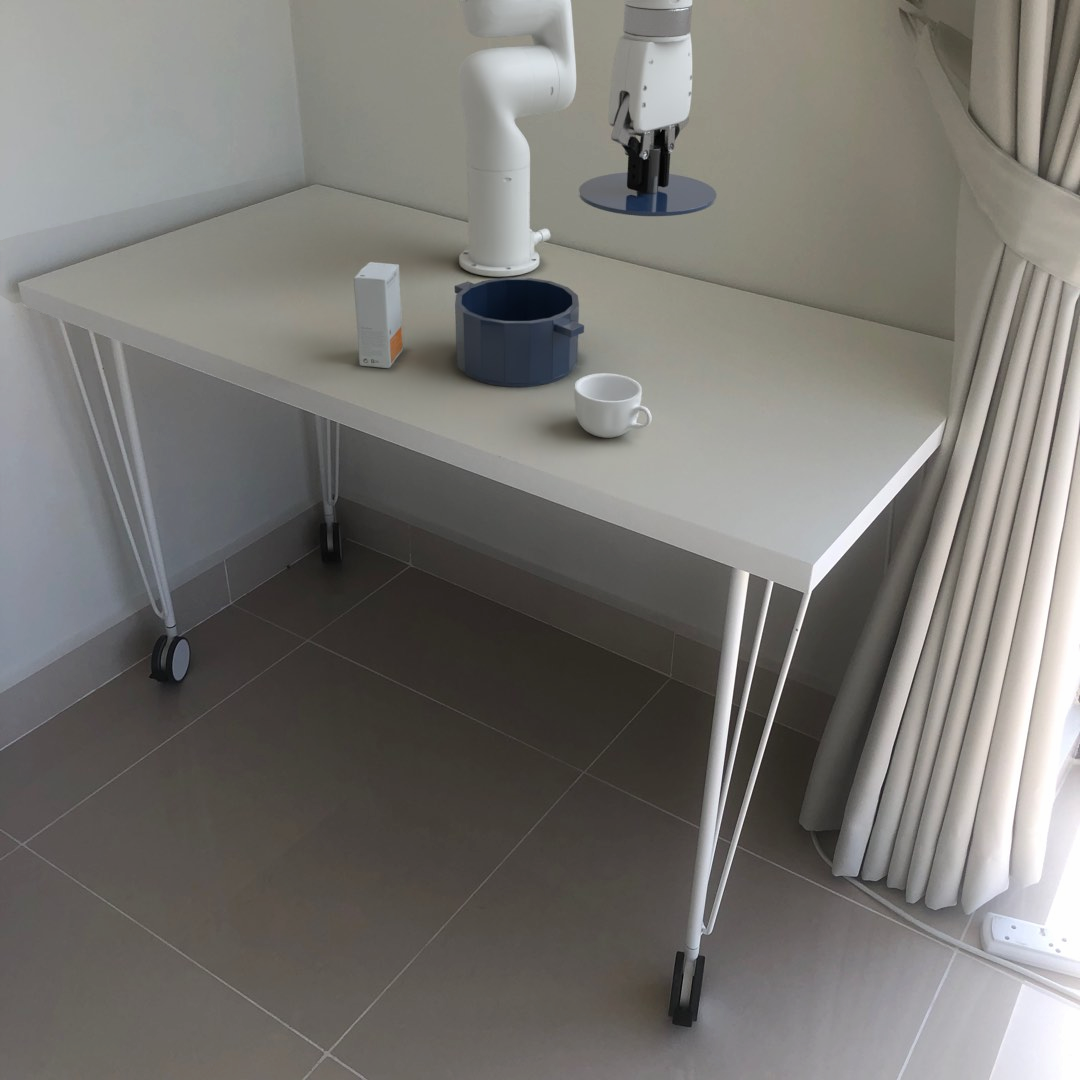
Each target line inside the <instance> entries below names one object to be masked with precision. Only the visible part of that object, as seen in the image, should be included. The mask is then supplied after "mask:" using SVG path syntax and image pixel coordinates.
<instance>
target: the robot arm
mask: <svg viewBox="0 0 1080 1080" xmlns="http://www.w3.org/2000/svg"><path fill="white" fill-rule="evenodd" d="M458 1H459V8H460V13H461V18H462V22H463V25H464V28H465V29H466V31H467V32H468V33H470V35H472V36H474V37H478V38H483V39H485V38H486V39H488V38H489V39H491V38H508V37H521V36H530V37H531V39H532V42H533V44H530V45H520V46H519V45H513V46H502V47H493V48H492V47H491V48H485V49H481V50H477V51H475V52H473V53H471V54H469V55H468V56H466V57H465V58H464V60H463V61H462V62H461V64H460V66H459V69H458V73H457V87H458V95H459V100H460V104H461V109H462V114H463V122H464V131H465V132H464V133H465V134H464V135H465V145H466V147H465V149H466V150H465V153H466V179H467V181H466V182H467V183H466V184H467V185H466V186H467V221H468V223H467V224H468V226H467V227H468V228H467V230H468V248H467V249H466V248H465V250H463V251H462V252H461V253H460V254H459V256H458V260H459V261H458V264H459V266H460V267H461V268H462V269H463V270H465V271H467V272H468V273H471V274H475V275H477V276H478V275H479V276H482V277H483V276H484V277H495V278H496V277H497V278H506V277H515V276H521V275H525V274H528V273H530V272H532V271H534V270H536V269H537V268H538V267H539V265H540V263H541V262H540V255H539V253H538V252H537V251H536V250H535V247H537V245H538V244H542V243H544V242H547V241H549V240H550V239H551V232H550V230H549V229H548V228H545V227H544V228H541V229H538V230H536V231H533V230H532V228H531V150H530V146H529V142H528V141H527V138H526V137H525V135H524V133H522V131H521V130H520V129H519V127H518V126H517V124H516V121H515V120H517V119H518V118H522V117H528V116H529V117H530V116H536V115H547V114H553V113H559V112H561V111H564V110H566V109H567V108H568V107H569V106H571V104H572V103H573V101H574V98H575V95H576V91H577V64H576V63H577V62H576V50H575V36H574V23H573V22H574V21H573V10H572V9H573V8H572V0H458ZM692 13H693V0H624V7H623V29H622V36H619V37H618V41H617V44H616V48H615V53H614V58H613V63H612V70H611V79H610V85H609V86H610V87H609V99H608V117H607V118H608V124H609V126H611V127H613V128H612V131H611V134H610V139H611V140H612V141H613V142H615V143H618V144H620V145H621V146H622V148H623V149H624V155H625V156H627V158H628V159H627V172H628V173H627V172H626V173H627V187H628V189H631V190H635V191H639V192H642V193H648V192H649V191H650V186H651V169H652V159H651V158H648V156H649V148H650V144H653V145H658V146H660V147H661V155H660V171H659V186H660V187H667V186H668V183H669V174H670V166H671V165H670V164H671V153H672V152H673V151H674V150H675V145H676V144H675V143H676V139H677V138H678V136H679V134H680V132H681V131H682V130H683V129H684V128H685V127H686V126H687V125H688V124H689V121H690V116H689V115H690V111H691V104H692V91H693V46H692V36H691V25H692ZM638 136H639V137H640V138H639V139H640V140H639V139H638V138H637V137H638Z"/></svg>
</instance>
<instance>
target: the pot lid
mask: <svg viewBox="0 0 1080 1080" xmlns="http://www.w3.org/2000/svg"><path fill="white" fill-rule="evenodd" d="M660 155H661V147H660V146H658V145H653V144H651V143H650V148H649V156H648V158H651V159H652V169H651V186H650V191H649V192H648V193H642V192H639V191H635V190H631V189H628V187H627V173H628V171H627V172H617V173H616V172H615V173H610V174H604V175H600V176H596V177H593V178H590V179H588V180H586V181H584V182H582V183H581V184H580V186H579V187H578V198H579V199H580V200H581V201H582V202H583V203H585V204H586V205H588V206H591V207H593V208H596V209H598V210H602V211H605V212H609V213H614V214H620V215H627V216H637V217H671V216H673V217H675V216H683V215H687V214H693V213H697V212H700V211H703V210H706V209H708V208H710V207H711V206H713V205H714V204H715V203H716V201H717V191H716V190H715V189H714V187H712V186H711V185H710V184H708V183H706V182H704V181H702V180H698V179H695V178H692V177H688V176H684V175H679V174H672V173H669V183H668V186H667V187H660V186H659V171H660Z"/></svg>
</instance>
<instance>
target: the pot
mask: <svg viewBox="0 0 1080 1080" xmlns="http://www.w3.org/2000/svg"><path fill="white" fill-rule="evenodd" d="M454 293H455V294H456V295H455V299H454V300H455V301H454V315H455V316H454V318H455V347H456V348H455V350H456V352H455V353H456V364H457V366H458V368H459V370H460V371H461V372H462V373H463V375H466V376H467V377H468V378H471V379H472V380H475V381H478V382H481V383H483V384H487V385H492V386H498V387H508V388H526V387H527V388H528V387H536V386H543V385H547V384H551V383H554V382H557V381H560V380H562V379H564V378H566V377H567V376H569V375H570V374H572V373H573V372H574V370H575V369H576V367H577V365H578V354H579V353H578V351H579V350H578V349H579V335H581V334H584V333H585V324H582V323H579V319H580V318H579V317H580V316H579V315H580V308H579V307H580V301H579V295H578V294H577V293H575V292H574V290H572V289H571V288H570V287H568V286H565V285H563V284H560V283H557V282H555V281H552V280H547V279H539V278H533V277H499V278H494V279H488V280H487V279H486V280H481V281H479V282H476V283H473V282H471V281H468V280H467V281H465V282H461V283H458V284H456V285H454Z"/></svg>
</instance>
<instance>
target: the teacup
mask: <svg viewBox="0 0 1080 1080" xmlns="http://www.w3.org/2000/svg"><path fill="white" fill-rule="evenodd" d="M573 391H574V392H573V393H574V408H575V414H576V419H577V421H578V424H579V425H580V426H581V428H582V429H583V430H584V431H586V432H587V433H589V434H590V435H592V436H595V437H597V438H605V439H608V438H616V437H619V436H622V435H625V434H626V433H628V432H629V431H630V430H631V429H638V430H639V429H644V428H647V427H648V426H650V425H651V423H652V420H653V419H652V418H653V417H652V412H651V411H650V409H649V408H647V406H644V405H641V403H642V396H643V395H642V394H643V387H642V385H641V384H640V383H639V382H638V381H637V380H635V379H634V378H631V377H629V376H626V375H622V374H619V373H618V374H617V373H610V372H609V373H608V372H602V373H601V372H600V373H592V374H588V375H584V376H582V377H580V378H578V379H577V380H576V381H575V382H574V389H573ZM640 412H644V414H645V415H646V421H645V423H638V422H637V420H638V419H639V415H640Z"/></svg>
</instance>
